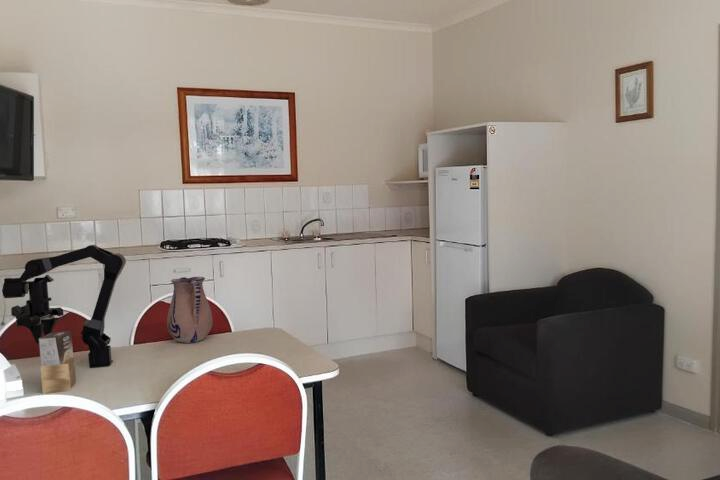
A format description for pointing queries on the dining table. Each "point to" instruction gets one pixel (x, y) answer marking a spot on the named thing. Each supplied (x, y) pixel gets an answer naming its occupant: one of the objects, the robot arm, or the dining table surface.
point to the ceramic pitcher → (189, 311)
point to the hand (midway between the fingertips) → (42, 341)
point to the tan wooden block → (58, 377)
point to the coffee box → (55, 348)
